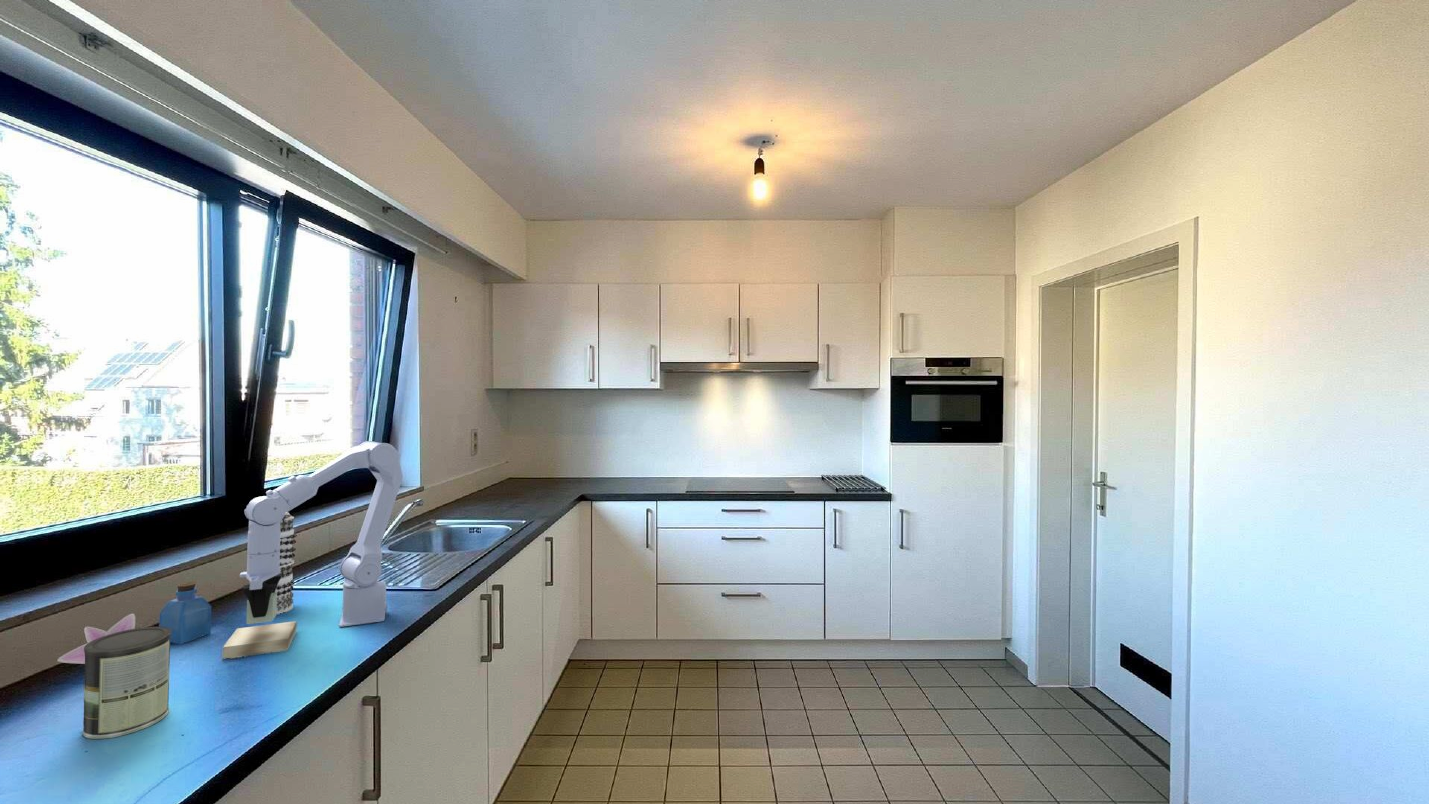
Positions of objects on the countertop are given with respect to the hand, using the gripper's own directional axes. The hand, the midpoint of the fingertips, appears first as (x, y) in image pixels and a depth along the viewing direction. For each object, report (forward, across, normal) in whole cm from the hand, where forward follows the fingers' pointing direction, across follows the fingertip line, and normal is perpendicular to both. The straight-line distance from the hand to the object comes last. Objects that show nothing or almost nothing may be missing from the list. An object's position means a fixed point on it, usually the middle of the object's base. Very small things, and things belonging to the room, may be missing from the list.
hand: (262, 612), depth 128 cm
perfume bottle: (+7, -12, -16) cm, 21 cm away
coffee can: (+7, +28, -13) cm, 32 cm away
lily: (+7, +3, -23) cm, 25 cm away
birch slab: (+8, 0, 0) cm, 8 cm away
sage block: (+1, 0, 0) cm, 1 cm away
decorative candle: (+7, -24, -2) cm, 25 cm away
